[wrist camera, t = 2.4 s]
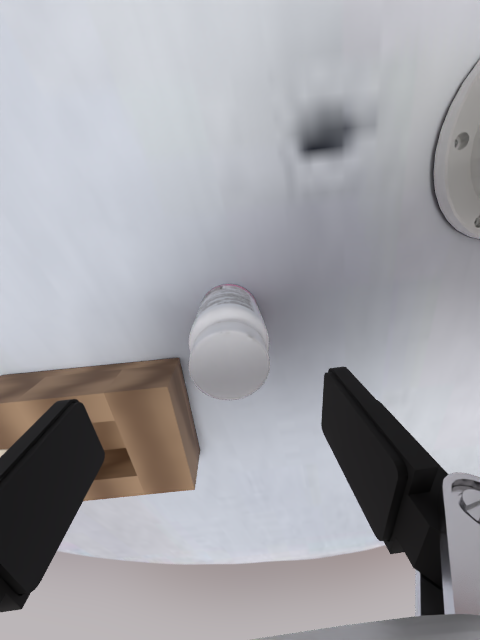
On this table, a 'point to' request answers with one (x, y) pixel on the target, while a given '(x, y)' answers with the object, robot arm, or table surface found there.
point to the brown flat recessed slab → (116, 421)
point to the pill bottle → (229, 344)
